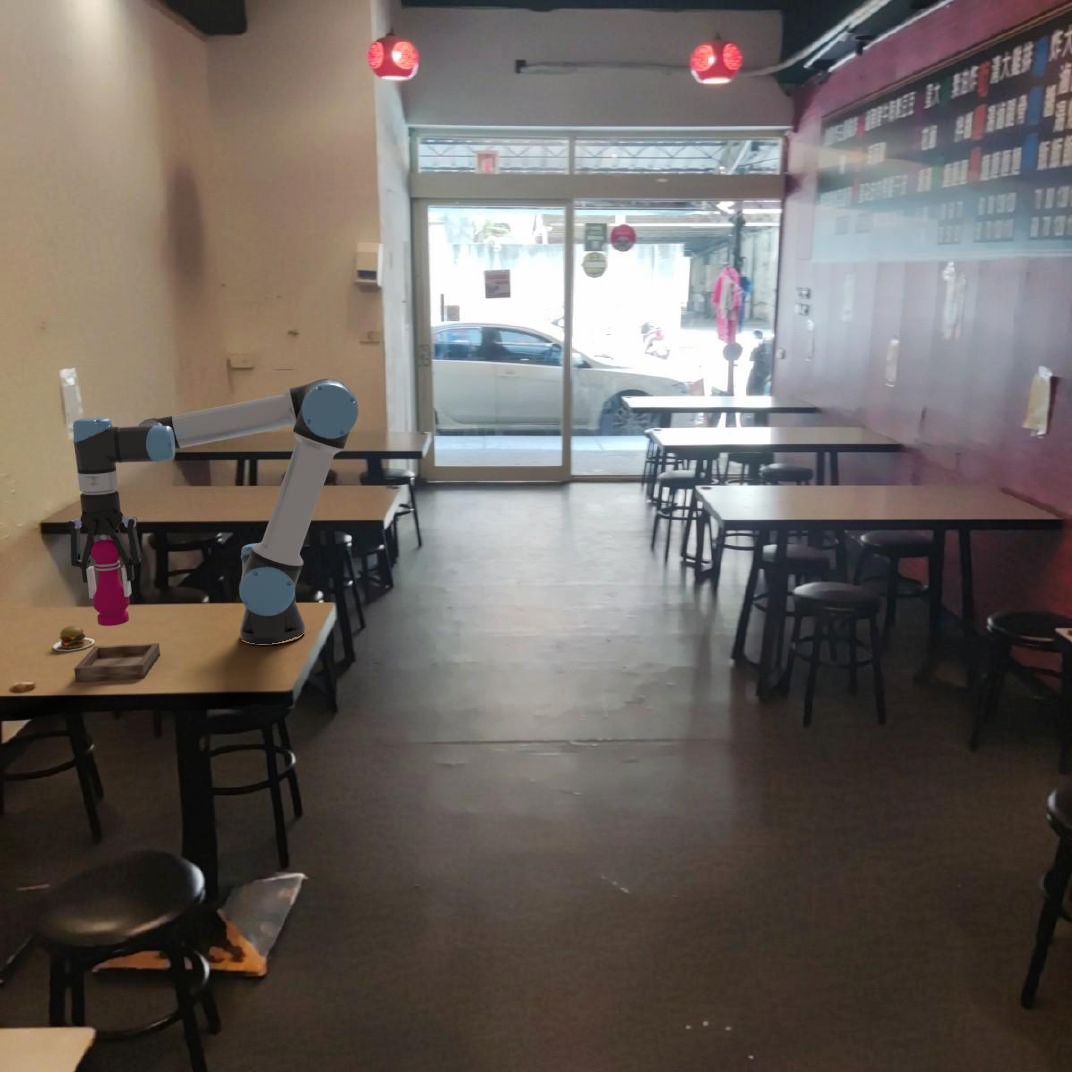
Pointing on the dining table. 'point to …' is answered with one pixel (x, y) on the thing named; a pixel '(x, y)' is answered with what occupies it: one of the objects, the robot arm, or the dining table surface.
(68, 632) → the hamburger
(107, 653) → the walnut tray
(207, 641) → the dining table surface
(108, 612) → the pepper mill
